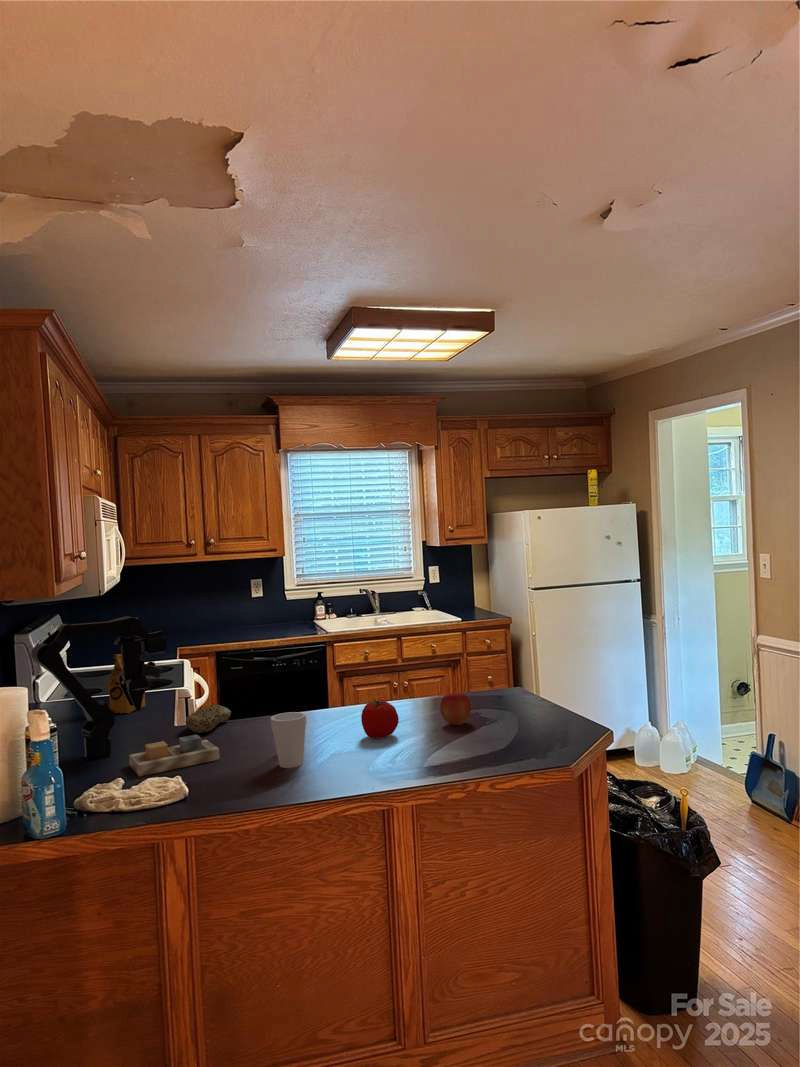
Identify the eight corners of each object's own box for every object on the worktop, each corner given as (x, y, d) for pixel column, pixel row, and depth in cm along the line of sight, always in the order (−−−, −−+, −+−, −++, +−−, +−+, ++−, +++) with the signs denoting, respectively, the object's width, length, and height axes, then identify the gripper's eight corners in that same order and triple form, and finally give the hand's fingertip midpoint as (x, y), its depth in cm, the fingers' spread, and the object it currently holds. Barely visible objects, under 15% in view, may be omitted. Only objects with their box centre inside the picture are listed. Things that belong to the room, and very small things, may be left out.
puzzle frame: (139, 776, 203) (137, 754, 203) (129, 765, 214) (128, 744, 214) (219, 759, 214) (218, 738, 214) (206, 749, 225) (205, 729, 225)
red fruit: (375, 730, 234) (372, 694, 234) (407, 733, 228) (404, 696, 228) (353, 741, 224) (350, 703, 224) (386, 744, 218) (383, 706, 218)
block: (150, 770, 208) (149, 748, 208) (146, 766, 213) (145, 744, 213) (169, 766, 211) (167, 744, 211) (164, 762, 215) (163, 741, 215)
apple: (477, 725, 233) (475, 692, 233) (449, 730, 229) (447, 697, 229) (463, 718, 242) (461, 687, 242) (436, 723, 238) (434, 691, 238)
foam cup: (310, 757, 210) (307, 711, 210) (307, 768, 201) (304, 719, 201) (276, 760, 210) (272, 713, 210) (271, 771, 201) (268, 722, 200)
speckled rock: (207, 724, 262) (168, 727, 244) (212, 701, 263) (174, 703, 245) (238, 733, 257) (201, 737, 239) (243, 710, 258) (206, 712, 240)
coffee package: (105, 714, 282) (101, 655, 282) (129, 706, 294) (125, 649, 294) (126, 715, 279) (122, 655, 278) (149, 706, 290) (145, 649, 290)
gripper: (165, 657, 229) (169, 708, 229) (151, 650, 245) (155, 698, 245) (127, 662, 223) (131, 715, 223) (115, 655, 239) (118, 704, 239)
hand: (135, 708), depth 233 cm, fingers open, 9 cm apart
